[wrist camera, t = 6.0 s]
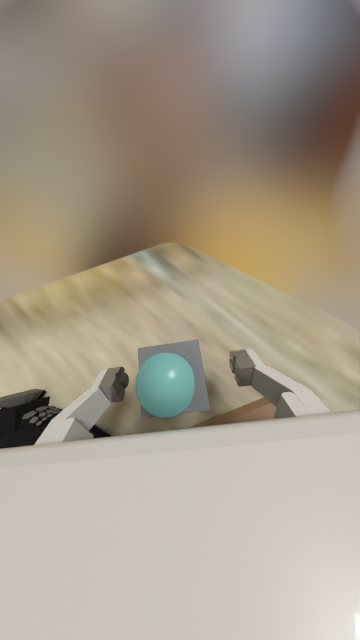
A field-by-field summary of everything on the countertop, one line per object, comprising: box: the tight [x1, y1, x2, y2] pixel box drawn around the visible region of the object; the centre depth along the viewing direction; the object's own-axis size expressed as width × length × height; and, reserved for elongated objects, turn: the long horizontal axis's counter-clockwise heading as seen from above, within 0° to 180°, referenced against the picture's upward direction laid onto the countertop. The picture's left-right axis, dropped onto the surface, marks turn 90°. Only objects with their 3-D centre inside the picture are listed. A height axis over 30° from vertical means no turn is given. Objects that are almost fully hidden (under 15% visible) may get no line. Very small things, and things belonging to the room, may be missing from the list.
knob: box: [136, 340, 210, 418], centre depth 11 cm, size 4×4×10 cm
